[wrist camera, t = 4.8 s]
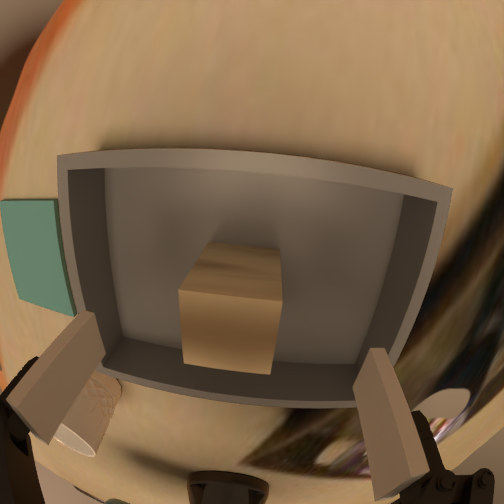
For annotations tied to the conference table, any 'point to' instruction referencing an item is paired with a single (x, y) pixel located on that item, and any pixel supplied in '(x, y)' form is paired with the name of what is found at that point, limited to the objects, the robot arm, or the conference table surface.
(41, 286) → the teal mat
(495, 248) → the conference table surface
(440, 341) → the conference table surface
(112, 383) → the white cup
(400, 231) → the crate
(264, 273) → the maple block
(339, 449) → the conference table surface
